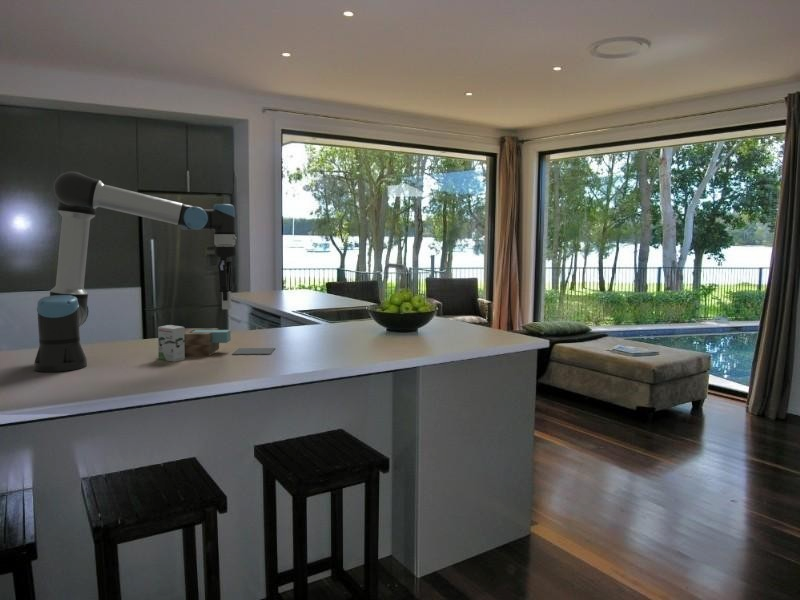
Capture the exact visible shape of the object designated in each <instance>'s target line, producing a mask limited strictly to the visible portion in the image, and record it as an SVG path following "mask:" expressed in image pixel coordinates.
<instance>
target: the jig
mask: <svg viewBox="0 0 800 600" xmlns="http://www.w3.org/2000/svg"><path fill="white" fill-rule="evenodd" d="M195 330H220V329H219V327H218V328H217V327H212V328H211V327H209V328H206V327H205V328H203V327H202V328H200V327H199V328H198V327H197V328H193V327H192V328H190V327H187V328H185V327H184V345H185V357H194V356H195V357H198V356H199V357H201V356H202V357H207V356H208V357H210V356H211V355H212V354H214V353H215V352H217V351H218V350H219V349H220V343H211V333H191V332H193V331H195Z"/></svg>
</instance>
